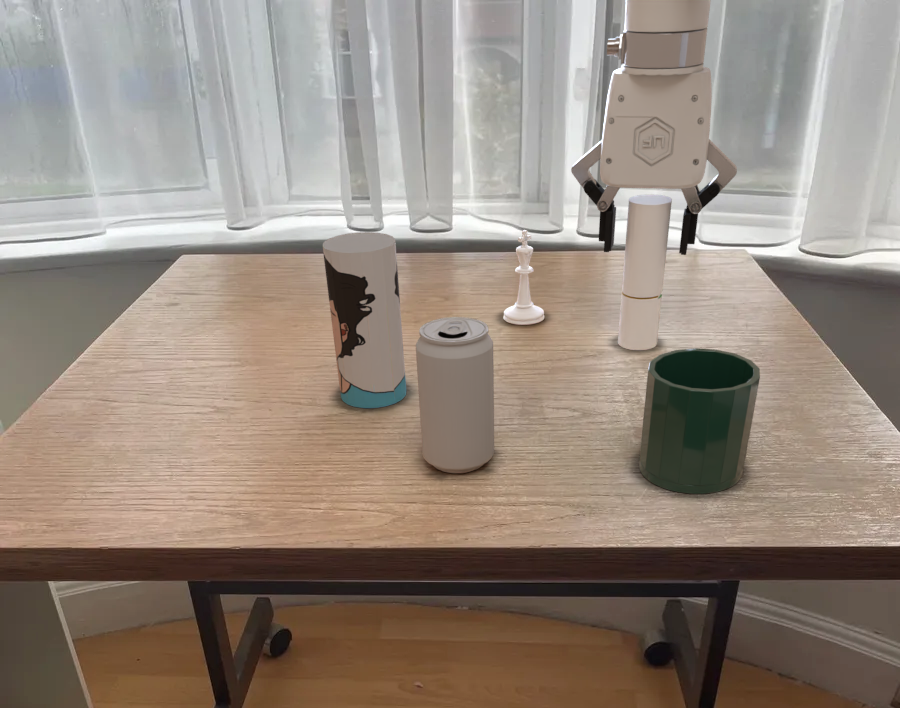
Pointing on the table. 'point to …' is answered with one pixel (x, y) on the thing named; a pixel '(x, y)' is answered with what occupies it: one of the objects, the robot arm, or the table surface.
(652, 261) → the tube
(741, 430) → the cup
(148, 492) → the table surface
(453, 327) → the beverage can
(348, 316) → the cup
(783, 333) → the table surface
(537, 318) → the chess piece
